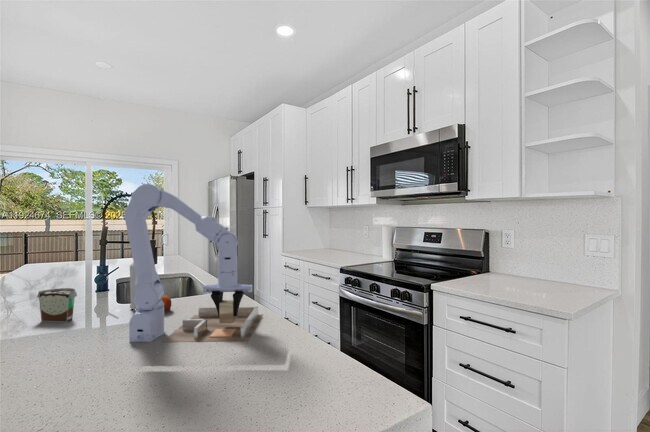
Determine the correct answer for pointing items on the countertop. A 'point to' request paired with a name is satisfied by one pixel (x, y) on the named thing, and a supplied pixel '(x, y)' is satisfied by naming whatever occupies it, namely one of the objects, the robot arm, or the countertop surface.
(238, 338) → the walnut board
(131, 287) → the bottle
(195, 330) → the channel walls
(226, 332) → the pad
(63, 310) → the food container
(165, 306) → the fruit
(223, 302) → the maple block
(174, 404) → the countertop surface
